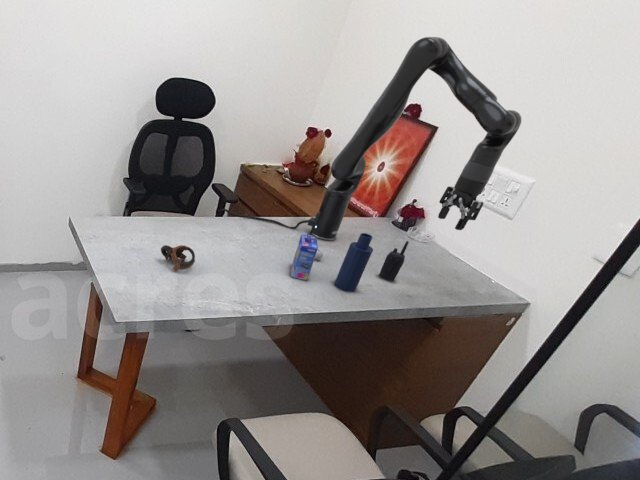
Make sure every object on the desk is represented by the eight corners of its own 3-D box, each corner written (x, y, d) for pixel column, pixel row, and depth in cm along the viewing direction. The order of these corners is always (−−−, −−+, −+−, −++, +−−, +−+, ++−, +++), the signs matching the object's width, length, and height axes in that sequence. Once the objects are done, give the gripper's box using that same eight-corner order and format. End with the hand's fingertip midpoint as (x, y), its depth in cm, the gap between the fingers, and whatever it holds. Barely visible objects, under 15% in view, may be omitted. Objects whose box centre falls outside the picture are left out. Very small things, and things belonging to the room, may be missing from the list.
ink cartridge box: (290, 264, 183) (303, 227, 175) (306, 268, 182) (320, 230, 174) (290, 277, 175) (304, 238, 167) (307, 281, 174) (321, 242, 166)
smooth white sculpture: (321, 264, 188) (312, 261, 186) (308, 253, 195) (299, 250, 193) (328, 254, 186) (319, 250, 184) (315, 243, 193) (305, 240, 191)
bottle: (332, 286, 172) (353, 235, 162) (336, 279, 177) (357, 229, 167) (352, 294, 169) (375, 242, 159) (357, 286, 174) (379, 235, 164)
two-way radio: (395, 280, 180) (414, 241, 172) (391, 284, 177) (410, 245, 169) (379, 274, 183) (396, 236, 175) (375, 278, 180) (393, 239, 172)
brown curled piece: (192, 262, 179) (201, 249, 171) (183, 282, 174) (192, 270, 167) (161, 246, 179) (168, 233, 172) (151, 267, 175) (158, 254, 168)
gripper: (448, 168, 167) (425, 214, 175) (479, 183, 155) (453, 232, 164) (469, 169, 168) (445, 215, 176) (502, 185, 156) (474, 234, 164)
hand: (449, 223), depth 170 cm, fingers open, 8 cm apart
